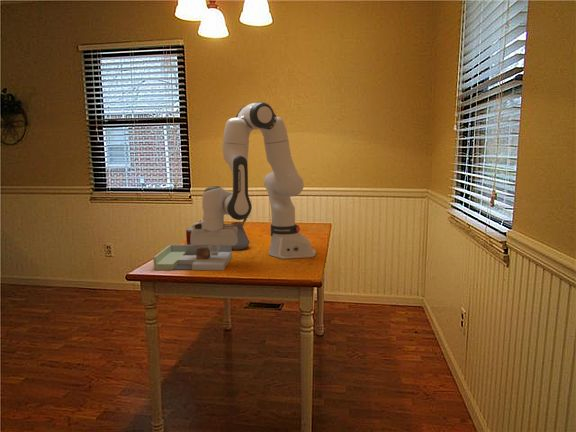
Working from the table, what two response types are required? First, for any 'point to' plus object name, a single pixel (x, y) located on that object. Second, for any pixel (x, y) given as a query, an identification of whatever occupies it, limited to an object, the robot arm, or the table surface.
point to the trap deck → (191, 258)
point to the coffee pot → (241, 236)
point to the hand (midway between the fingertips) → (214, 255)
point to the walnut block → (203, 253)
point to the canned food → (188, 235)
